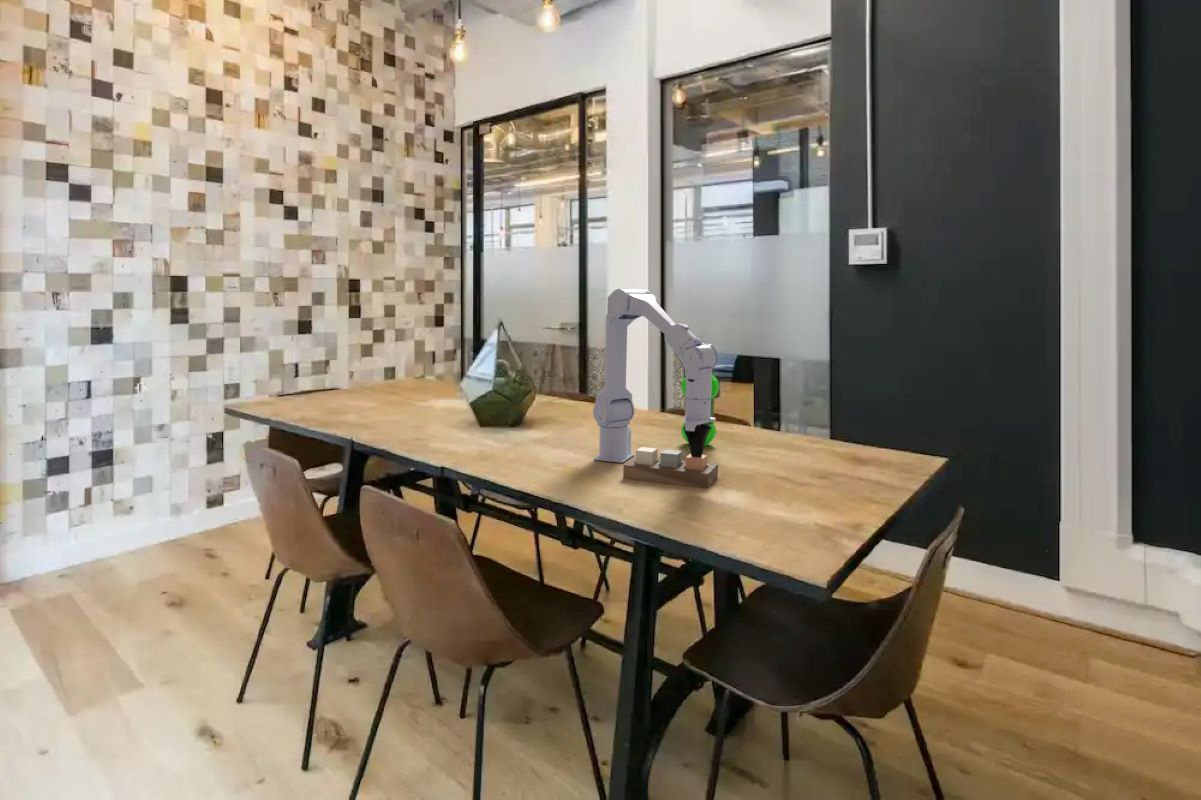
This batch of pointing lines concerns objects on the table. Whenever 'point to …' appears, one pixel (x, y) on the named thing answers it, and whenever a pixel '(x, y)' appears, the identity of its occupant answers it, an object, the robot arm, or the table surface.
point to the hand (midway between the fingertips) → (696, 456)
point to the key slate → (671, 458)
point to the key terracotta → (696, 462)
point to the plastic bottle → (714, 392)
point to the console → (671, 474)
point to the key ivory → (646, 456)
